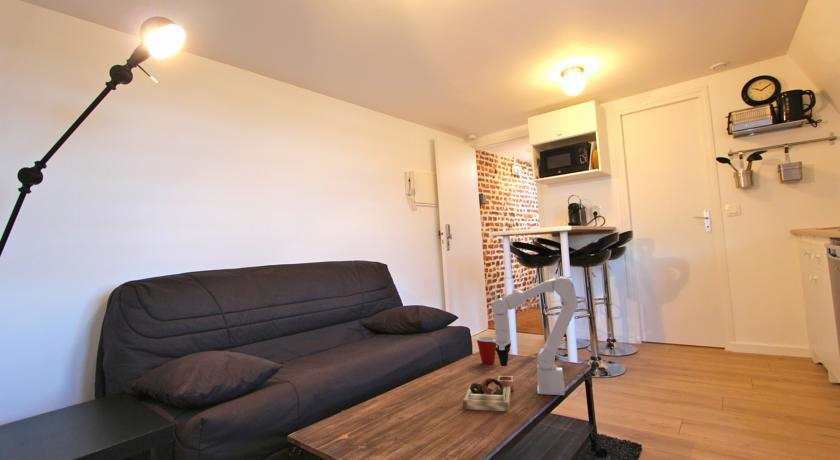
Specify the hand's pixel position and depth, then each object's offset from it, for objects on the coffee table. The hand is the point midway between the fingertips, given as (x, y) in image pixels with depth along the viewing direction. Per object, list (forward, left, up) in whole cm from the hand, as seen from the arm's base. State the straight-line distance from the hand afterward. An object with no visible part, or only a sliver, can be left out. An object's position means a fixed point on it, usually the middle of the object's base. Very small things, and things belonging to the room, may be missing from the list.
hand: (504, 363), depth 154 cm
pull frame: (+4, +9, -9) cm, 13 cm away
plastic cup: (+10, -32, -10) cm, 35 cm away
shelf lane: (+6, +14, -9) cm, 17 cm away
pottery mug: (+6, +13, -10) cm, 17 cm away
